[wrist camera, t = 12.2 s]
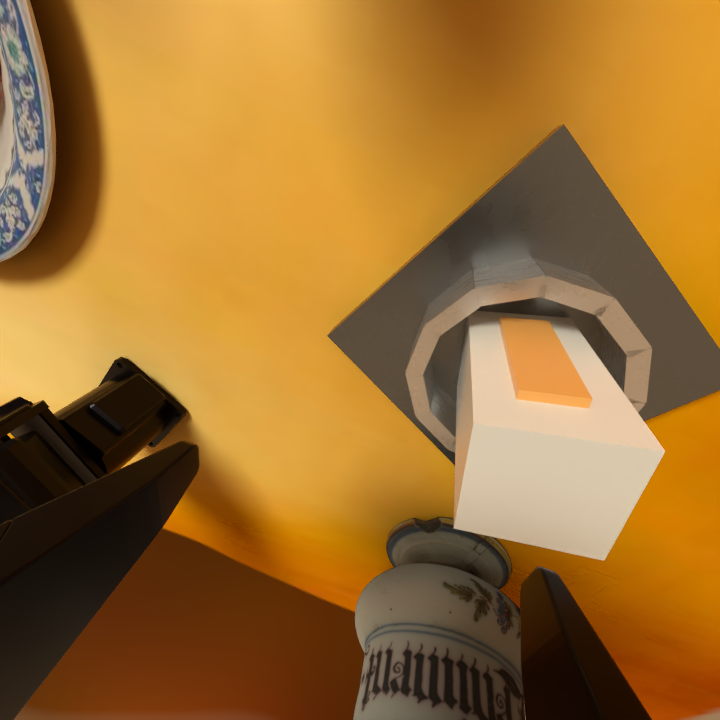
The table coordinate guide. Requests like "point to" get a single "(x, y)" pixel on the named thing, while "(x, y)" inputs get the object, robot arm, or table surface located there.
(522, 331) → the white block
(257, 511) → the table surface
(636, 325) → the duct collar
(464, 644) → the apothecary jar
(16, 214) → the ceramic plate
